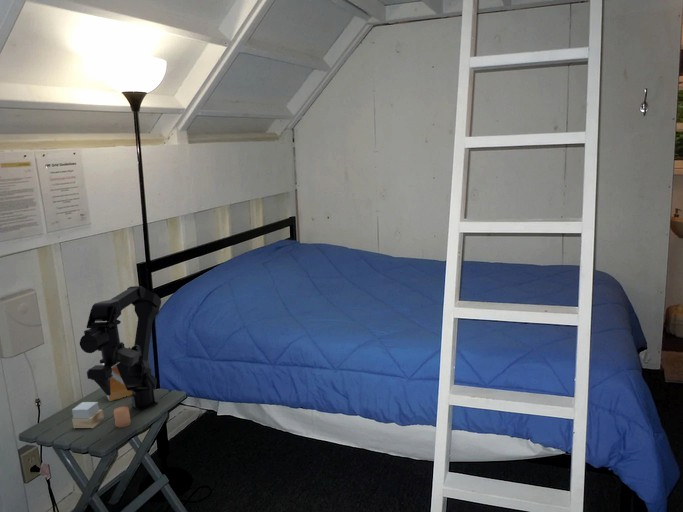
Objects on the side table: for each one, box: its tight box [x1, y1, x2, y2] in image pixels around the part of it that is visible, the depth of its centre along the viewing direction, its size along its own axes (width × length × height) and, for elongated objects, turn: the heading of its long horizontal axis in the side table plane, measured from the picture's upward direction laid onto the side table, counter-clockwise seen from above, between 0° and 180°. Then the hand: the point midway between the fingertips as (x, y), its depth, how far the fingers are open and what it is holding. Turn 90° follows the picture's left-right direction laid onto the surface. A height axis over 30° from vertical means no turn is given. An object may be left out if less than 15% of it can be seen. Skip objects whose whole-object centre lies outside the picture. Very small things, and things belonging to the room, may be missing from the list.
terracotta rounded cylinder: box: [113, 406, 132, 428], centre depth 175 cm, size 4×4×5 cm
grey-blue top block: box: [71, 401, 100, 419], centre depth 177 cm, size 6×6×3 cm
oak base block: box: [71, 409, 105, 429], centre depth 178 cm, size 6×6×4 cm
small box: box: [100, 363, 132, 402], centre depth 198 cm, size 8×6×13 cm
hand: (117, 389), depth 174 cm, fingers open, 9 cm apart
